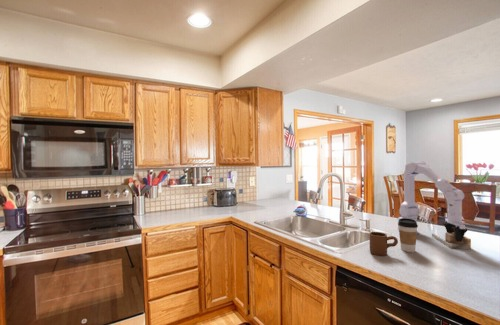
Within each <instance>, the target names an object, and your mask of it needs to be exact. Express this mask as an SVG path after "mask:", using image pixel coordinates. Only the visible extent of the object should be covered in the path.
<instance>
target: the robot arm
mask: <svg viewBox="0 0 500 325" xmlns="http://www.w3.org/2000/svg"><path fill="white" fill-rule="evenodd" d="M404 167H405V168H404V172H403V202H401V204H400V207H399V209H398V210H399V212H398V213H399V214H400V216H398V218H397V230H398V231H399V225H398V223H399V219H401V218H407V219H413V220H415V221H416V222H417V218H418V216H419V215H420V209H419V205H418V203H416V200H415V199H416V194H415V193H416V191H415V188H416V186H415V185H416V184H415V177H416V176H418V175H419V174H422V175H424V176H425V177H427V179H430V180H431V181H432V182H433V183H434V186H435V188H436V189H438V190H439V191H440V192H441V193H442V194H443V195H444V199H445V200H446V203H447V204H446V205H447V217H445V218H444V222H443V223H442V225H443V226H444V228H445V230H446V231H445V232H446V233H453V232H454V233H455V238H456V241H457V242H462V240H463V237H464V236H465V235H466V233H467V231H468V228H466V225H465V221H463V200H464V199H465V192H463V190H461V189H458V188H457V187H456V186H453V185H452V184H451V183H450V182H449V180H448V179H443V178H441V177H439V175H437V174H436V173H435V172H434V171H433V170H432V168H430V165H429V164H427V163H426V162H425V161H409V162H407V163H406V164H405V166H404ZM417 234H420V232H419V231H418V230H417Z"/></svg>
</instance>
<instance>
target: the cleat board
mask: <svg viewBox="0 0 500 325" xmlns="http://www.w3.org/2000/svg"><path fill="white" fill-rule="evenodd" d="M431 237H432V238H434V239H435V240H436V241H439V242H440V243H442V244H443V245H444V246H446V247H447V248H450V249H461V250H462V249H463V250H471V249H472V246H471V244H472V240H471V238H469V237H467V236H465V235H464V237H463V244H457V243H450V244H449V243H448V242H446V241H445V240H444V239H443V238H442V237H440V236H438V235H436V234H435V233H431Z"/></svg>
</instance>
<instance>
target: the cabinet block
mask: <svg viewBox="0 0 500 325" xmlns="http://www.w3.org/2000/svg"><path fill="white" fill-rule="evenodd" d="M444 235H445V237H444V238H445V241H446V242H448V243H449V244H450V243H457V244H463V240H462V242H457V241H456V238H455V233H454V232H453V233H447V232H445V234H444Z"/></svg>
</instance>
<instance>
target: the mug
mask: <svg viewBox="0 0 500 325" xmlns="http://www.w3.org/2000/svg"><path fill="white" fill-rule="evenodd" d="M368 238H369V252H370V254H372V255H374V256H377V257H378V256H379V257H383V256H387V255H388V249H389V248H392V247H393V248H394V247H395V246H397V245H398V244H399V241H398V238H397V237H396V236H393V235H389V236H388V235H387V233H384V232H380V231H371V232H370V233H369V237H368ZM391 240H393V242H389V243H388V241H391Z"/></svg>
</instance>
